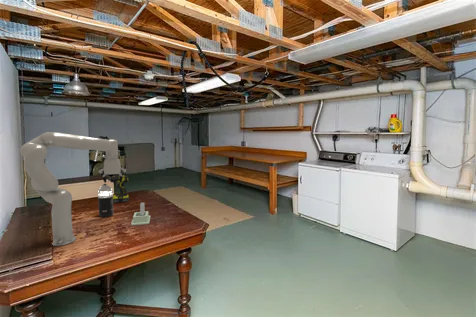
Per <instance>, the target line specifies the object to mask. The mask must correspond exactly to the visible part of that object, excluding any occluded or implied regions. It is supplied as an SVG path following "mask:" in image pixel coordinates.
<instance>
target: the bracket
mask: <svg viewBox="0 0 476 317" xmlns="http://www.w3.org/2000/svg"><path fill="white" fill-rule="evenodd" d="M139 208H140V209H139V210H140V211H139V212H140V214H141V216H145V212H146V211H145V202H140V205H139Z"/></svg>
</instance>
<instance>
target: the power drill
mask: <svg viewBox="0 0 476 317" xmlns="http://www.w3.org/2000/svg"><path fill="white" fill-rule="evenodd" d="M107 180H108V181H107V182H109V181H110V183H113V184H114V185H115V187H116V188H119V194H114V195H113V204H120V203H124V204H125V203H128V202H129V200H130V197H129V194H127V189H126V187H125V184H127V183H128V182H129V175H125V174H124V175H123V176H122V182H120V175H119V174H117V175H112V176H110V177H109V178H107Z"/></svg>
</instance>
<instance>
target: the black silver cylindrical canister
mask: <svg viewBox="0 0 476 317" xmlns="http://www.w3.org/2000/svg"><path fill="white" fill-rule="evenodd" d="M113 194H114V193H113V188H112V187H111V186H110V185H108V184H106V183H104V184H101V186H100V187H99V188H98V189H97V200H98V203H97V204H98V216H99V217H101V218H108V217H112V216H113V215H114V203H113Z"/></svg>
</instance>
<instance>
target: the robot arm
mask: <svg viewBox="0 0 476 317" xmlns="http://www.w3.org/2000/svg"><path fill="white" fill-rule="evenodd" d="M118 146H119V145H118V140H117V139H106V138H105V139H102V138H96V137H89V136H84V135H77V134H69V133H66V132H65V133H64V132H58V131H57V132H56V131H47V132H44V133H41V134H40V135H38V136H37V137H34V138H32V139H31V140H29V141H27V142H26V143H24V144H22V146H21V147H20V149H19V153H20V155H21V156H22V157H23V158H24V162H23V167H24V170H25V172H26V173H27V175H28V176H29V177H30V178H31V179H30V184H31V187H32V188H33V190H34V191H35V192H36V193H37V194H38V195H39V196H40V197H41V198H42V199H43V200H44V201H45V202H47V203H49V204H52V206H51V212H50V213H51V224H52V226H51V227H52V238H53V239H52V240H53V243H52V245H53V247H59V246H65V245H69V244H71V243H74V242H75V241H76V240H77V236H75V235H74V234H73V233H74V232H73V217H72V216H73V215H72V202H73V195H72V193H71V192H70V191H69V190H68V189H64V188H61V187H59V180H58V179H57V178H56V176H54V174H53V173H52V172H51V171H50V170H49V169H48V167H47V165H46V164H45V159H46V157H47V153H48V149H49V148H51V147H53V148H60V149H61V148H62V149H70V150H83V151H86V150H90V151H99V152H105V155H103V159H104V161H103V168H101V169H99V170H98V173H99V175H101V177H102V179H103V182H104V184H106V183H107V182H108V181H107V175H120V182H122V176H123V175H125V174H126V172H127V169H126V168H123V167H122V166H121V161H120V159H119V147H118ZM122 171H123V172H122ZM52 245H51V246H52Z"/></svg>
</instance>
